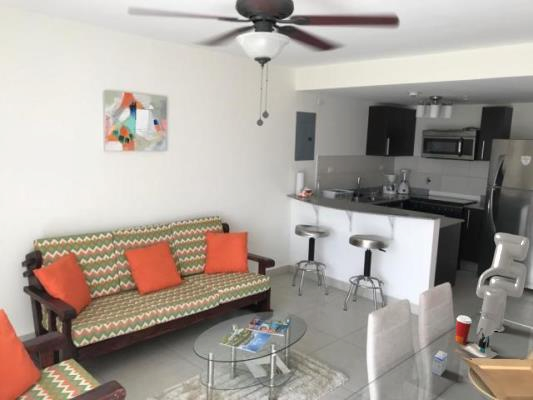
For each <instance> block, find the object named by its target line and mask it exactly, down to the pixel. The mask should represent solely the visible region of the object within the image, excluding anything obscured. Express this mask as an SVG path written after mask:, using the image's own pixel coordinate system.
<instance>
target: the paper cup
mask: <svg viewBox="0 0 533 400" xmlns="http://www.w3.org/2000/svg"><path fill="white" fill-rule="evenodd" d="M472 323H473V322H472V319H471V317H469V316H467V315H458V316H457V317H456V327H455V328H456V329H455V337H454V338H455V340H454V342H456V343H458V344H460V345H467V342H468V337H469V335H470V330H471V325H472Z"/></svg>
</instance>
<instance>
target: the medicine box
mask: <svg viewBox="0 0 533 400" xmlns="http://www.w3.org/2000/svg"><path fill="white" fill-rule="evenodd" d="M448 358H449V353H447V352H444V351H443V350H438V352H437V353H436V354H435V355H434V356H433V361H432V366H431V371H430V372H431V373H432V374H434V375H436V376H438V377H441V376H442V375H443V373H444V372H445V371H446V369H447V363H448Z"/></svg>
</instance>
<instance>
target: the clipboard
mask: <svg viewBox="0 0 533 400" xmlns="http://www.w3.org/2000/svg"><path fill="white" fill-rule="evenodd" d="M486 349H489V350H492V348H491V347H489V346H488V347H486ZM454 353H456V354H459V355H461V356H463V357H465V358H466V359H469V358H480V357H486V356H487V354H486V353H482V352H480V347H479V343H476V342H475V341H471V342H469V343H466V344H464V345H462V346H460V347H459V348H456V349H455V350H454Z"/></svg>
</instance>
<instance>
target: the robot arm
mask: <svg viewBox="0 0 533 400" xmlns="http://www.w3.org/2000/svg"><path fill="white" fill-rule="evenodd" d="M493 238H494V243H495V250H494V255H493V259H492V263H491V266H490V268H488V269H486V270H485V271H484V272H482V273H481V275H480V276H479V278H478V282H477V286H476V291H475V294H476V296H477V298H480V299H482V300H483V301H482V306H481V312H480V313H481V314H480V318H479V322H478V325H477V329H476V334H477V335H478V336H477V338H478V339H479V341H478V344H479V347H480V348H483V349H485V346H486V342H485V341H486V337H487V336H488V342H487V347H489V346H490V345H489V344H490V340H491V337H492V335H493V334H494V333H495V332H494V331H498V332H497V333H502V332H504V331H505V327H504V326H503V323H504V322H505V319H504V318H505V317H504V316H505V312H506V307H507V306H506V305H507V298H508V297H507V296H509V297H513V298H521V297H522V295H523V293H524V289H525V282H526V278H527V277H526V276H527V272H528V271H527V266H526V264H523V263H521V262H516V261H524V260H525V259H526V257H527V254H528V251H529V247H530V243H531V242H530V239H529V238H528V237H526V236H523V235H517V234H511V233H508V232H497V233H495V234H494V237H493ZM515 260H516V261H515ZM491 276H492V277H491ZM489 277H491V278H490V280H489V284H485V282H486V280H487V279H488V278H489ZM483 337H484V338H483Z"/></svg>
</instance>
